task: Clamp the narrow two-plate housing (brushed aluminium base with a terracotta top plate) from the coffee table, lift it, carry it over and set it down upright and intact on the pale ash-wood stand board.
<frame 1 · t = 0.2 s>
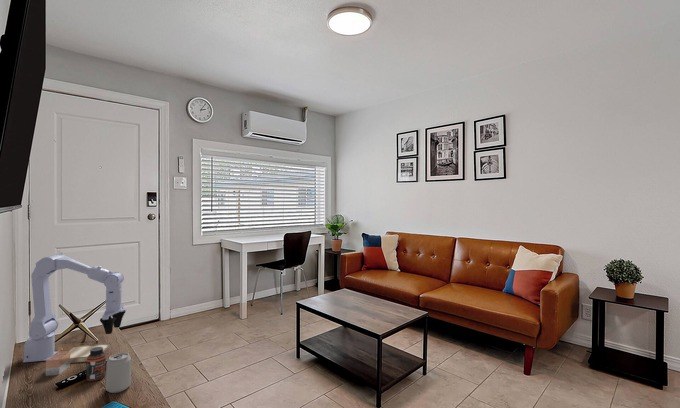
hand: (113, 330, 152), 10 cm above the table, fingers open, 7 cm apart
housing: (58, 370, 136), on the table
can: (118, 389, 123), on the table
stand board: (85, 354, 149), on the table
supplement bottle: (95, 378, 130), on the table
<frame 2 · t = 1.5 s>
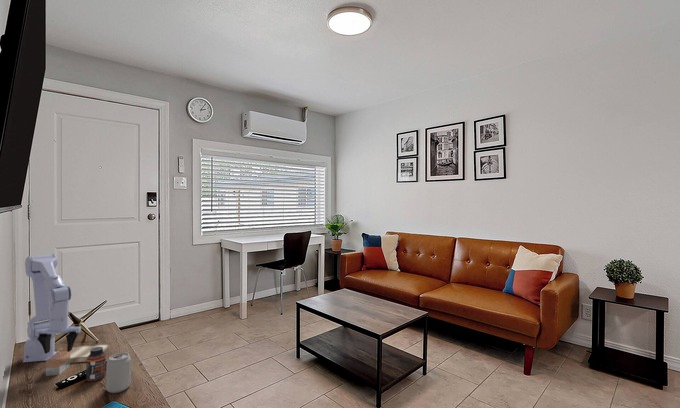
hand: (58, 351, 135), 7 cm above the table, fingers open, 7 cm apart
nothing on the table moved.
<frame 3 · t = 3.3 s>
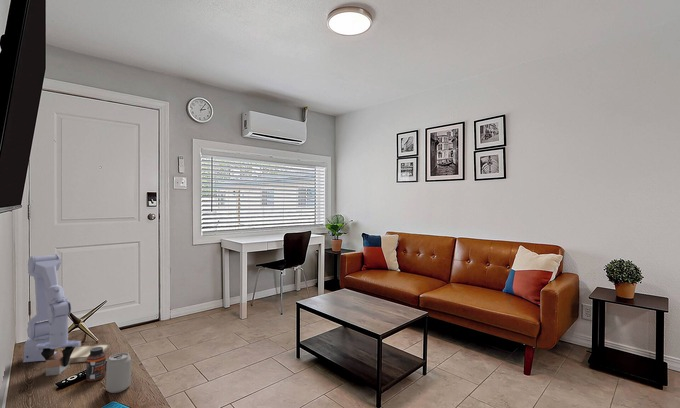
hand: (58, 366, 136), 2 cm above the table, fingers closed on housing, 4 cm apart
housing: (58, 370, 136), on the table, touching gripper
everything else where it was.
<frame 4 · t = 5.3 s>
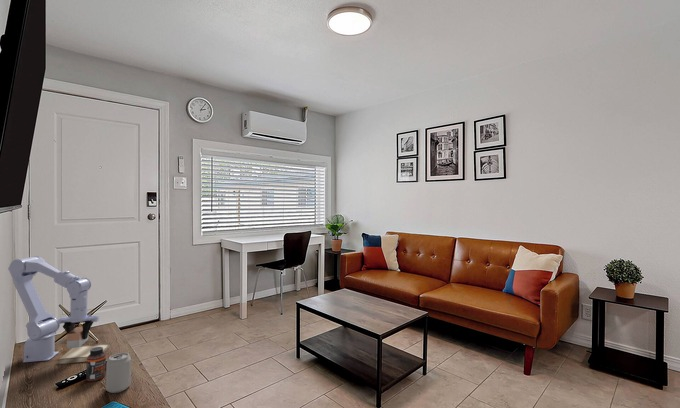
hand: (78, 339, 145), 9 cm above the table, fingers closed on housing, 4 cm apart
housing: (77, 343, 145), point 7 cm above the table, touching gripper
everything else where it was.
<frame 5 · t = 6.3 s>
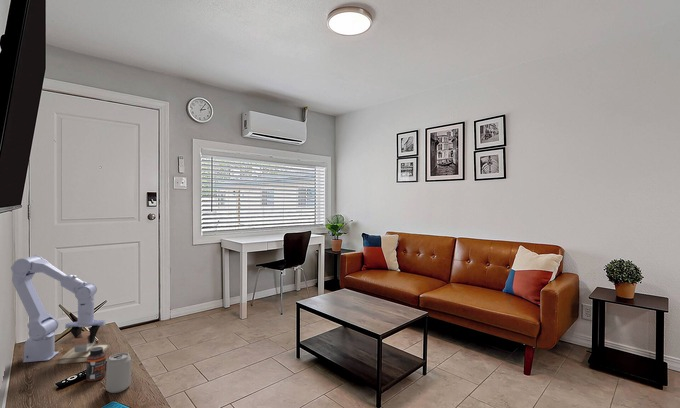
hand: (85, 343, 149), 5 cm above the table, fingers closed on housing, 4 cm apart
housing: (85, 347, 149), point 3 cm above the table, touching gripper
everything else where it was.
when the fingers open (4 cm above the table, at t = 7.4 s): housing stays where it is, resting on stand board.
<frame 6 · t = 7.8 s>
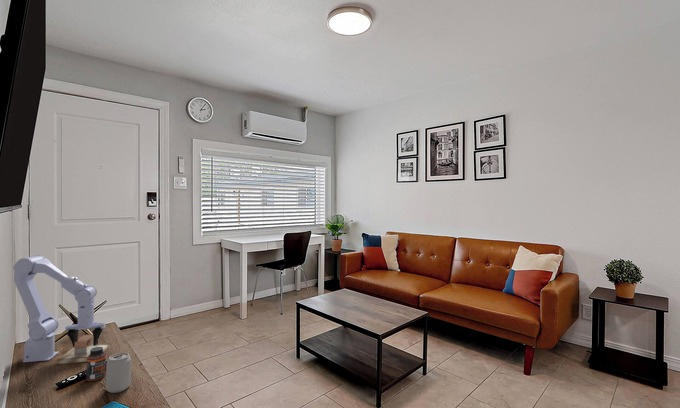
hand: (85, 345, 149), 4 cm above the table, fingers open, 7 cm apart
housing: (84, 351, 149), point 1 cm above the table, touching stand board
everything else where it was.
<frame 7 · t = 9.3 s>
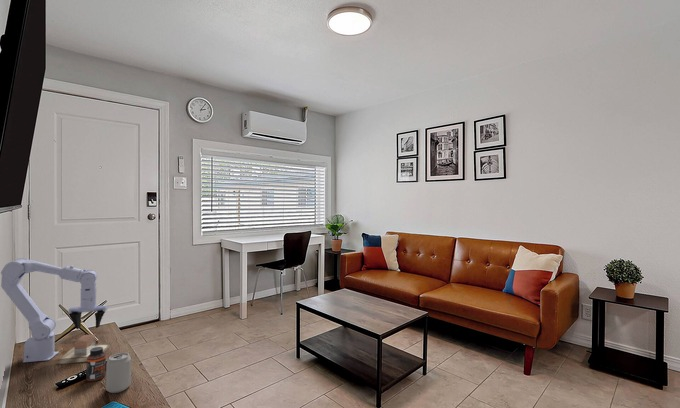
hand: (88, 327, 153), 10 cm above the table, fingers open, 7 cm apart
nothing on the table moved.
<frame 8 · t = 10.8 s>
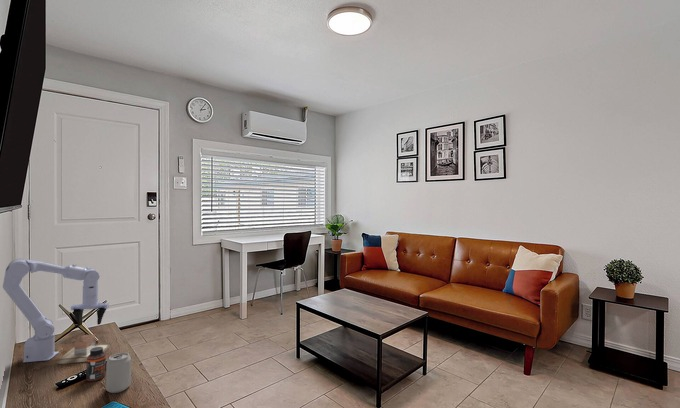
hand: (89, 324, 157), 10 cm above the table, fingers open, 7 cm apart
nothing on the table moved.
at the end: housing inside the target area on the stand board (0.3 cm from its centre), point 1.5 cm above the stand board's base; housing tilted 0°; the gripper is holding nothing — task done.
